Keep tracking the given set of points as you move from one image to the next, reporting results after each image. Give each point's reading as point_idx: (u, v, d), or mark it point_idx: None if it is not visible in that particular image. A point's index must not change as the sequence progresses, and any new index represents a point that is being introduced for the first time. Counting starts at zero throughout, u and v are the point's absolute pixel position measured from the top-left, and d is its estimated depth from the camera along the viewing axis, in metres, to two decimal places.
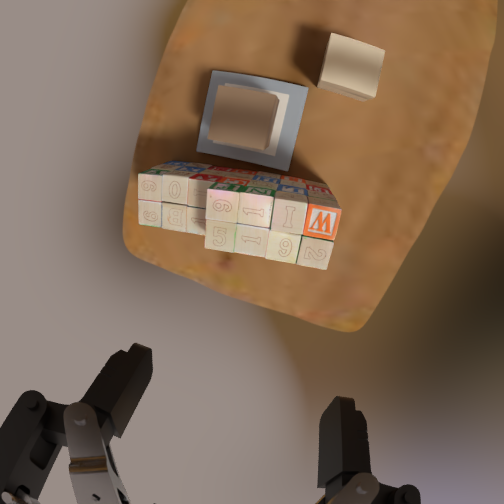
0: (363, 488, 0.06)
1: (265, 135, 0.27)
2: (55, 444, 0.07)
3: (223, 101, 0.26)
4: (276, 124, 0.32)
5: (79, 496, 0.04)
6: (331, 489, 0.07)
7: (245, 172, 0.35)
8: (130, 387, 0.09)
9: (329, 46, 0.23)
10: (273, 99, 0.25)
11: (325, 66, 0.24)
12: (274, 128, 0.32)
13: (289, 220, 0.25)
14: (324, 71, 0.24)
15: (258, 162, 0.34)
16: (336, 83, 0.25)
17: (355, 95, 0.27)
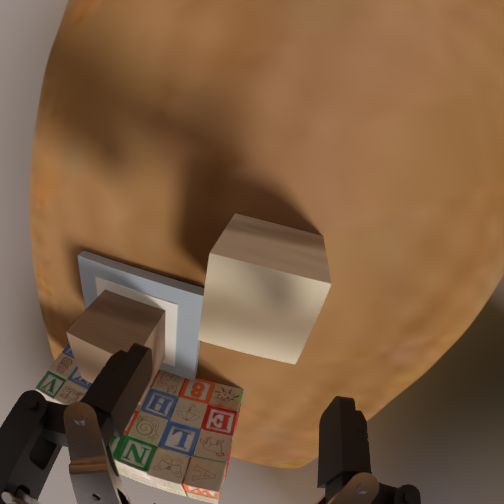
0: (363, 488, 0.06)
1: None
2: (55, 444, 0.07)
3: (78, 351, 0.18)
4: (169, 337, 0.23)
5: (79, 496, 0.04)
6: (330, 489, 0.07)
7: None
8: (130, 387, 0.09)
9: (207, 283, 0.14)
10: None
11: (203, 320, 0.15)
12: (166, 341, 0.24)
13: (168, 485, 0.17)
14: (202, 328, 0.16)
15: None
16: (225, 346, 0.16)
17: None
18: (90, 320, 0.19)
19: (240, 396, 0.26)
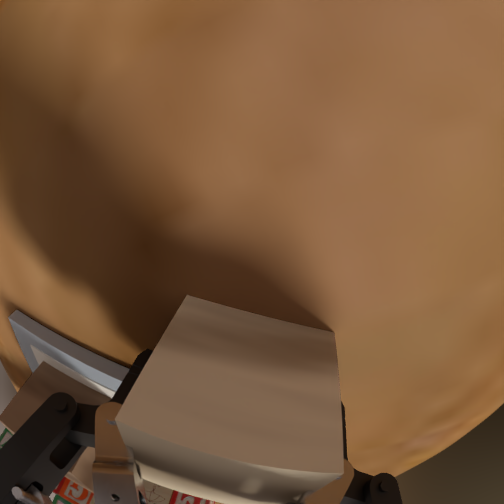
0: None
1: (90, 489, 0.11)
2: (79, 446, 0.07)
3: None
4: None
5: (98, 494, 0.04)
6: None
7: None
8: None
9: (128, 445, 0.06)
10: (72, 474, 0.09)
11: None
12: None
13: None
14: (141, 472, 0.08)
15: None
16: (177, 490, 0.08)
17: None
18: (24, 406, 0.11)
19: None
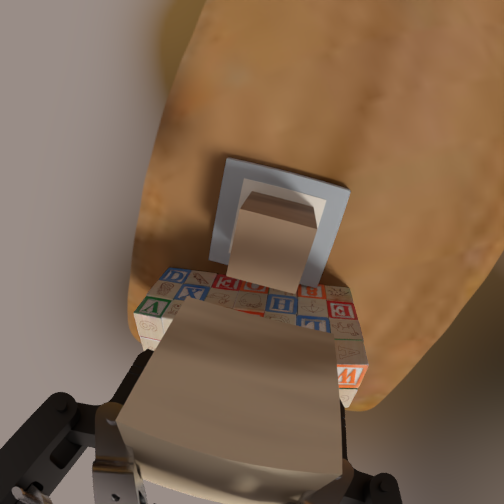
0: None
1: (299, 278, 0.23)
2: (79, 446, 0.07)
3: (246, 232, 0.22)
4: None
5: (98, 494, 0.04)
6: None
7: (256, 285, 0.31)
8: None
9: (128, 445, 0.06)
10: (313, 235, 0.21)
11: None
12: None
13: None
14: None
15: None
16: (177, 490, 0.08)
17: None
18: (257, 204, 0.23)
19: (350, 292, 0.30)
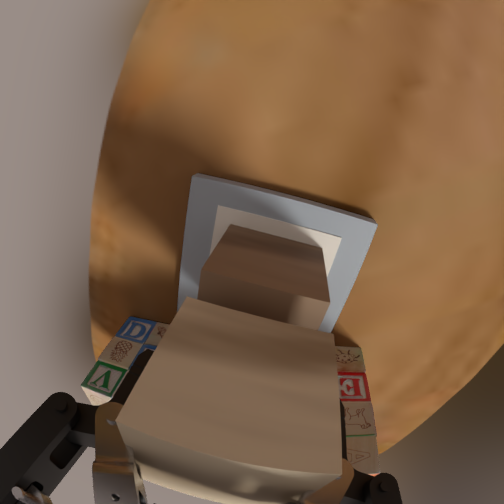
0: None
1: None
2: (79, 446, 0.07)
3: None
4: None
5: (97, 494, 0.04)
6: None
7: None
8: None
9: None
10: (323, 311, 0.13)
11: None
12: None
13: None
14: None
15: None
16: (177, 490, 0.08)
17: None
18: (233, 255, 0.14)
19: (361, 355, 0.21)
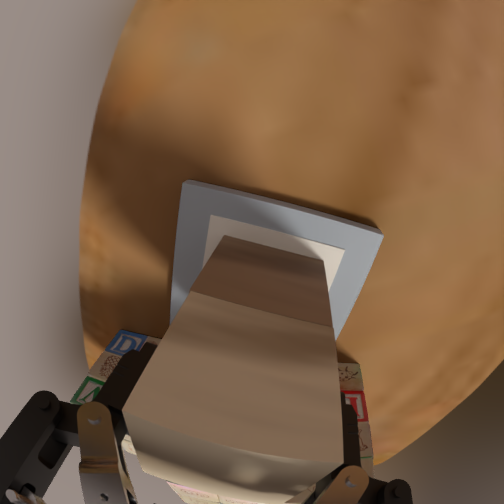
0: (352, 481, 0.06)
1: None
2: (65, 445, 0.07)
3: None
4: None
5: (87, 495, 0.04)
6: (320, 482, 0.07)
7: None
8: None
9: (133, 437, 0.07)
10: None
11: (142, 462, 0.08)
12: None
13: None
14: (144, 466, 0.08)
15: None
16: (180, 483, 0.09)
17: None
18: (226, 272, 0.13)
19: (359, 372, 0.20)
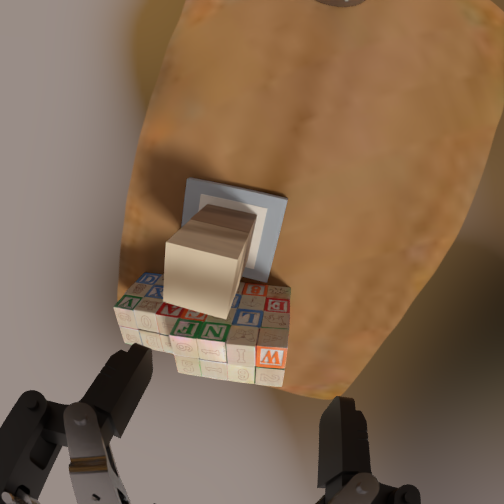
0: (363, 488, 0.06)
1: None
2: (55, 444, 0.07)
3: None
4: (255, 239, 0.34)
5: (79, 496, 0.04)
6: (330, 489, 0.07)
7: None
8: (130, 387, 0.09)
9: (166, 261, 0.23)
10: None
11: (165, 286, 0.24)
12: (252, 243, 0.34)
13: (242, 358, 0.28)
14: (165, 292, 0.24)
15: None
16: (180, 305, 0.25)
17: None
18: (206, 215, 0.30)
19: (289, 291, 0.36)
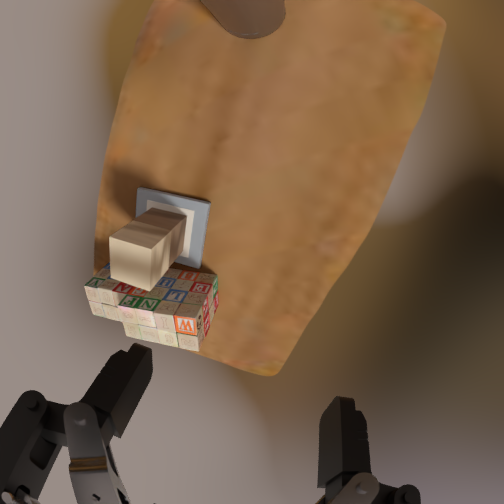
0: (363, 488, 0.06)
1: None
2: (55, 444, 0.07)
3: None
4: (187, 234, 0.43)
5: (79, 496, 0.04)
6: (330, 489, 0.07)
7: None
8: (130, 387, 0.09)
9: (110, 249, 0.32)
10: None
11: (111, 267, 0.33)
12: (185, 237, 0.43)
13: (165, 324, 0.37)
14: (111, 271, 0.34)
15: (177, 261, 0.46)
16: (121, 280, 0.34)
17: None
18: (146, 216, 0.39)
19: (215, 277, 0.46)
